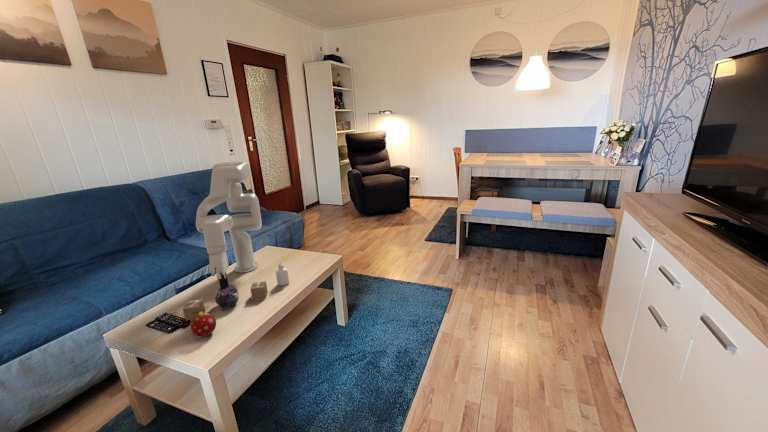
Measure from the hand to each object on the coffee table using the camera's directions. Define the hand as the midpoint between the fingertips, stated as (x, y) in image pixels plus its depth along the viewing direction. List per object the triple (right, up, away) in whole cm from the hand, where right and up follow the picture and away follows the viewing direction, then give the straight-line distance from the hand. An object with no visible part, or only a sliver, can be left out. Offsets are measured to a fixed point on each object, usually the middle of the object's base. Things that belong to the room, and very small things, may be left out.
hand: (224, 286), depth 138 cm
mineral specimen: (0, -9, +3) cm, 10 cm away
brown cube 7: (-10, -12, -4) cm, 16 cm away
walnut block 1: (+12, -7, +9) cm, 17 cm away
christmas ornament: (+1, -15, -16) cm, 22 cm away
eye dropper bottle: (+20, -3, +20) cm, 28 cm away
